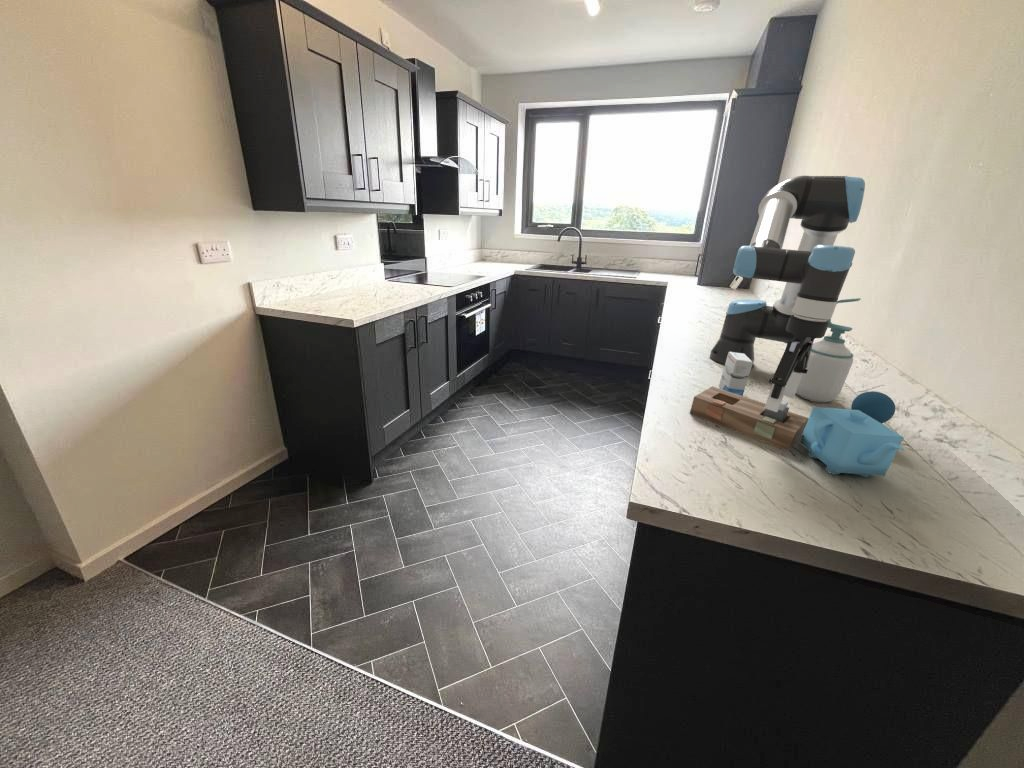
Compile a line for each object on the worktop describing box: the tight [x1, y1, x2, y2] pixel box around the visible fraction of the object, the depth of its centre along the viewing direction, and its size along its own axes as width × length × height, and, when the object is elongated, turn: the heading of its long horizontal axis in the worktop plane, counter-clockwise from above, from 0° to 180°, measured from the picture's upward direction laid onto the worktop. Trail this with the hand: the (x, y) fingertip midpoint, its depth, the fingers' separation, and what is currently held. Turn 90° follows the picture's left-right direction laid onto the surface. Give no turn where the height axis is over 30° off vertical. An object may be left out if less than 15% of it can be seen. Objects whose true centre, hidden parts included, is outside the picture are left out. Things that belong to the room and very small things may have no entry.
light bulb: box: [850, 390, 896, 424], centre depth 105 cm, size 8×8×12 cm
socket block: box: [689, 386, 809, 452], centre depth 107 cm, size 12×24×5 cm, turn 43°
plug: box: [763, 399, 790, 423], centre depth 103 cm, size 4×4×8 cm
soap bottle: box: [795, 297, 861, 403], centre depth 123 cm, size 12×12×31 cm
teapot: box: [799, 406, 905, 478], centre depth 88 cm, size 18×16×13 cm
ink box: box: [718, 352, 754, 396], centre depth 126 cm, size 8×5×12 cm, turn 168°
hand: (779, 402), depth 101 cm, fingers open, 13 cm apart
